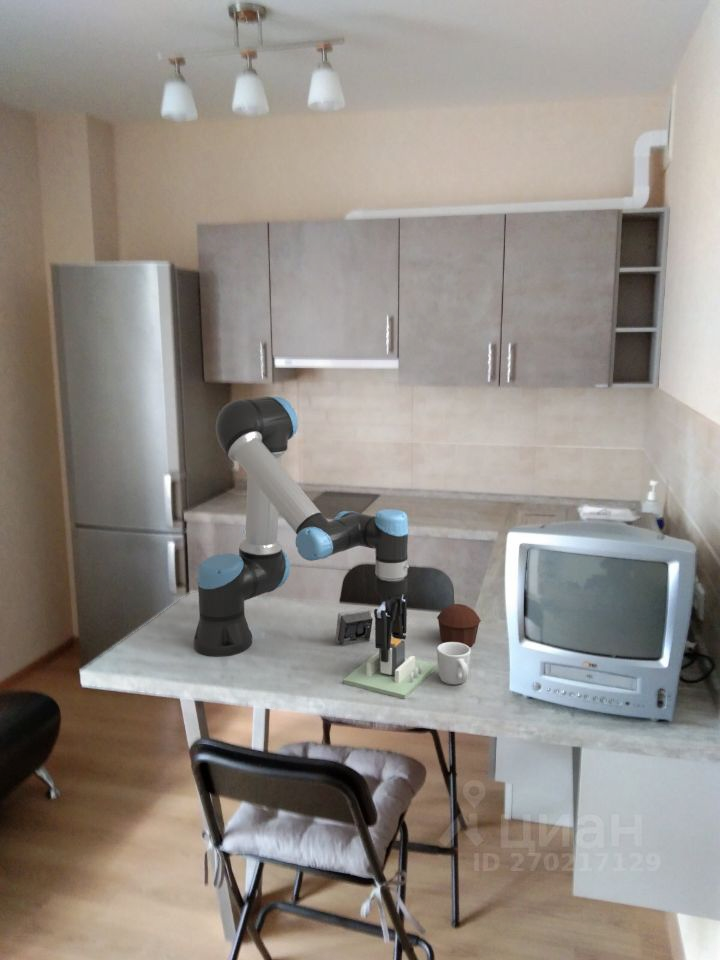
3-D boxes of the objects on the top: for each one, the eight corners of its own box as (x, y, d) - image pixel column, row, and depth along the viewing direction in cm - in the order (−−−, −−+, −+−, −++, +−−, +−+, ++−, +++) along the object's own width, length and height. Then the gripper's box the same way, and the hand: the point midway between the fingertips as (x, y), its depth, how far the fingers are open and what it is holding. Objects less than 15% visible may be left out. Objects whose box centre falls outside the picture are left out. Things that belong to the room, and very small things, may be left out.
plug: (379, 672, 179) (379, 642, 178) (388, 664, 183) (387, 635, 182) (396, 675, 177) (396, 645, 176) (404, 668, 181) (404, 638, 180)
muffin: (428, 638, 202) (429, 603, 200) (462, 630, 207) (463, 596, 205) (453, 654, 192) (454, 618, 190) (488, 646, 197) (489, 610, 195)
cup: (480, 690, 173) (481, 658, 171) (448, 695, 171) (449, 662, 169) (461, 670, 183) (462, 639, 182) (431, 674, 181) (431, 643, 179)
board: (343, 683, 177) (343, 667, 176) (378, 654, 192) (378, 640, 191) (404, 699, 169) (405, 682, 168) (436, 667, 185) (436, 652, 184)
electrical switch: (366, 635, 204) (367, 604, 201) (374, 644, 199) (375, 613, 197) (334, 641, 200) (335, 610, 198) (341, 651, 196) (342, 618, 193)
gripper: (389, 589, 166) (388, 687, 171) (421, 568, 181) (420, 658, 186) (359, 584, 170) (359, 680, 174) (393, 563, 185) (393, 652, 190)
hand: (391, 668), depth 180 cm, fingers closed on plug, 4 cm apart
